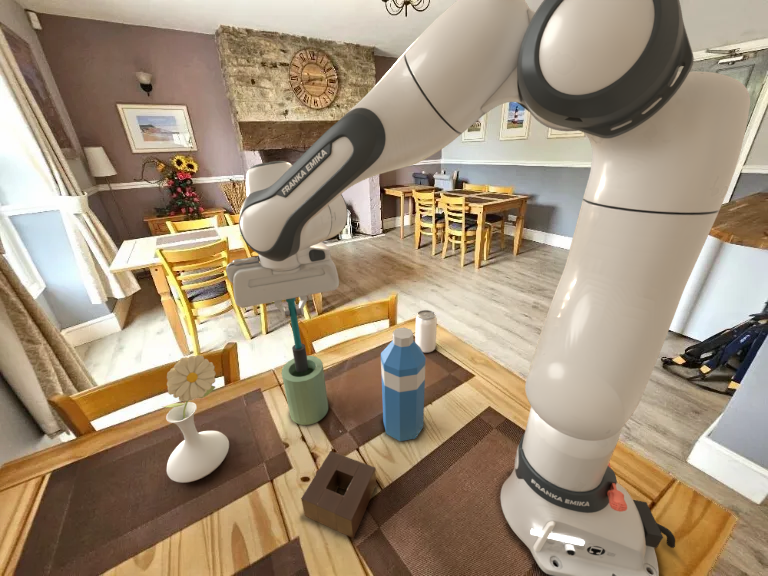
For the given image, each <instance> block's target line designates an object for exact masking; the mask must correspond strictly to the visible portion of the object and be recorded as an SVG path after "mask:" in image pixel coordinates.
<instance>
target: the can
mask: <svg viewBox="0 0 768 576" xmlns="http://www.w3.org/2000/svg"><path fill="white" fill-rule="evenodd" d="M437 327H438V318H437V314H436V313H435V312H434V311H432V310H429V309H423V310H419V311H418V312H417V313H416V316H415V329H414V330H415V333H414V334H415V335H414V337H415V338H414V341H415V343H416V344H417V345H418V346H419V347H420V348H421V350H422V352H423V354H424V353H425V354H429V353H432V352H433V351H435V349H436V347H437V346H436V345H437V331H438V330H437Z"/></svg>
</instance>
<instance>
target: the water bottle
mask: <svg viewBox="0 0 768 576" xmlns="http://www.w3.org/2000/svg"><path fill="white" fill-rule="evenodd" d="M426 359H427V358H426V356H425V354H424V353H423V352H422V350H421V348H420V347H419V346H418V345H417V344H416V343H415V339H414V333H413V331H412V329H410V328H408V327H398V328H395V329H394V330H393V331H392V340H391V342H390V343H389V344H388V345H387V346H386V347H384V349H383V350H382V351H381V353H380V370H381V371H380V372H381V395H382V396H381V398H382V399H381V400H382V421H383V426H384V430H385V434H386V435H387V436H390V437H391V438H393V439H395V440H397V441H398V442H404V441H409V440H415V439H417V437H418V435H419V434H420V433H421V431H422V430H423V429H424V415H425V414H424V413H425V387H426Z"/></svg>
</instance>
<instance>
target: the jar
mask: <svg viewBox="0 0 768 576" xmlns="http://www.w3.org/2000/svg"><path fill="white" fill-rule="evenodd" d="M307 361H308V370H307V371H305V372H297V371H296V367H295V361H294V358H291V359H290V360H288V361H287V362H286V363H285V364H284V365H283V366H282V368H281V378H282V382H283V388H284V392H285V396H286V402H287V407H288V412H289V415H290V418H291V420H292V422H294V423H295V424H297V425H301V426H309V425H313V424H316V423H318V422H320V421H321V420H322V419H323V418H325V416H326V415H327V414H328V412H329V401H328V400H329V399H328V393H327V385H326V378H325V371H324V364H323V360H322V359H320V358H318V357H317V356H315V355H307Z"/></svg>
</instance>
